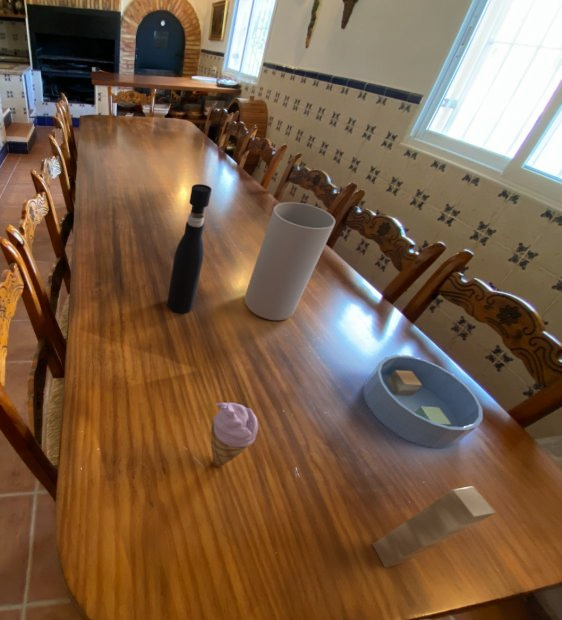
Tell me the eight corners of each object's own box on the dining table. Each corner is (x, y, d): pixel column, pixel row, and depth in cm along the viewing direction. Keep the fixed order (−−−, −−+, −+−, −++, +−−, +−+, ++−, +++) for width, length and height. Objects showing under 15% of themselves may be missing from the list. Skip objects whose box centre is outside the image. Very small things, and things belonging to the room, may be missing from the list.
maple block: (412, 395, 71) (422, 384, 69) (395, 395, 71) (404, 384, 69) (402, 381, 74) (411, 370, 72) (386, 381, 74) (395, 370, 72)
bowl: (482, 450, 64) (507, 432, 60) (390, 446, 63) (409, 427, 59) (425, 376, 76) (442, 357, 72) (348, 372, 76) (361, 352, 72)
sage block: (439, 435, 65) (451, 424, 63) (420, 434, 65) (432, 423, 62) (427, 418, 67) (439, 407, 65) (409, 417, 67) (420, 406, 65)
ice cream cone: (191, 447, 60) (209, 393, 51) (224, 438, 62) (247, 384, 52) (209, 486, 56) (232, 434, 46) (244, 475, 57) (273, 423, 48)
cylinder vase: (266, 286, 98) (299, 198, 82) (303, 312, 90) (347, 221, 74) (233, 299, 93) (261, 208, 76) (270, 328, 85) (309, 234, 69)
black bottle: (188, 316, 86) (214, 196, 67) (163, 309, 88) (181, 190, 68) (195, 301, 91) (221, 185, 71) (171, 294, 92) (190, 179, 73)
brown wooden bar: (402, 564, 49) (496, 512, 38) (385, 567, 49) (474, 516, 37) (388, 541, 51) (473, 485, 40) (371, 544, 51) (452, 489, 39)
